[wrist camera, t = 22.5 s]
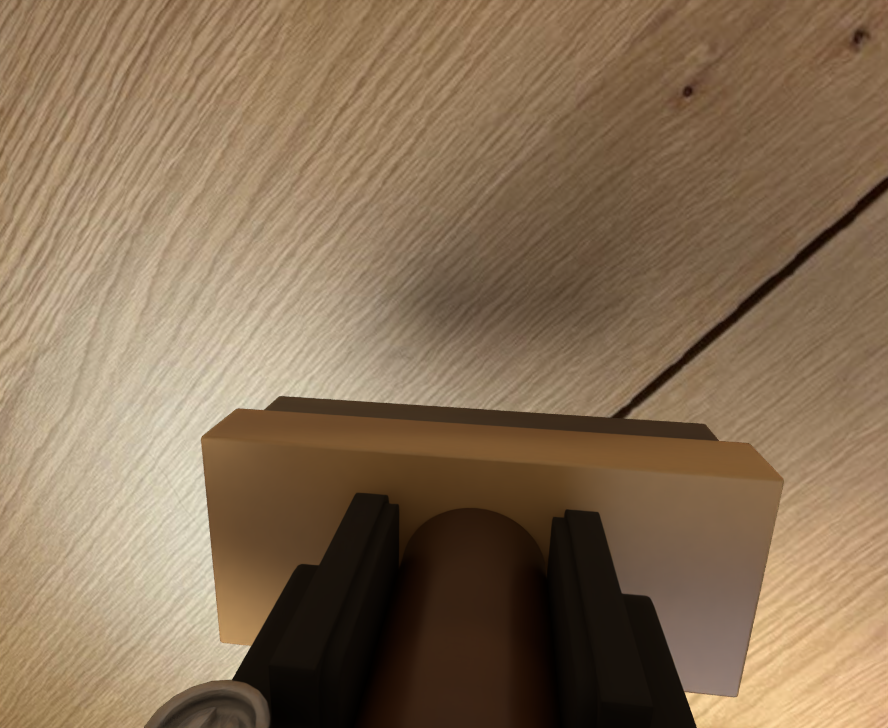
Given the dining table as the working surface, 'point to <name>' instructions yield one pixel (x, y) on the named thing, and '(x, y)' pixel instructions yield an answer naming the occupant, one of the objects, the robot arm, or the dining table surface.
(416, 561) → the peg on base plate
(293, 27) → the dining table surface
